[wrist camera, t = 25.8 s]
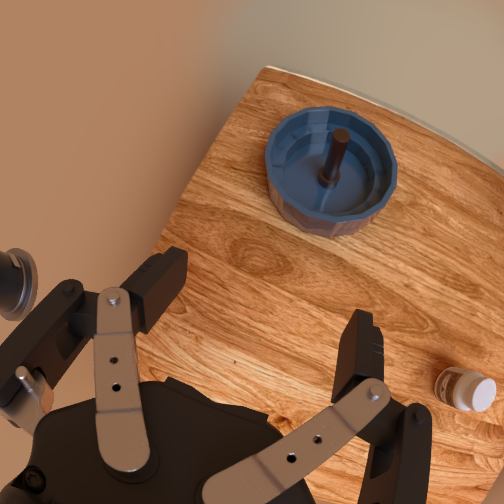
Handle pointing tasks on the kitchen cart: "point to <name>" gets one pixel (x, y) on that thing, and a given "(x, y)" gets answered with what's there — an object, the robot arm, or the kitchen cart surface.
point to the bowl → (314, 157)
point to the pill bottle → (465, 389)
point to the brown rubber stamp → (334, 159)
